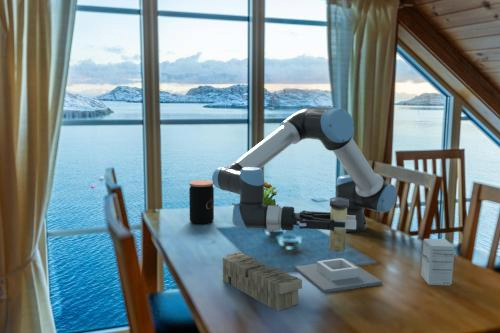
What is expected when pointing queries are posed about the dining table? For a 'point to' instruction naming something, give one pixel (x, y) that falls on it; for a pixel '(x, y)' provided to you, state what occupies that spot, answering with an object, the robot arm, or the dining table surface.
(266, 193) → the potted flower
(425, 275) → the supplement box
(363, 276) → the socket plate
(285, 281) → the block tower
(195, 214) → the coffee jar
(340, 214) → the lidded glass jar
